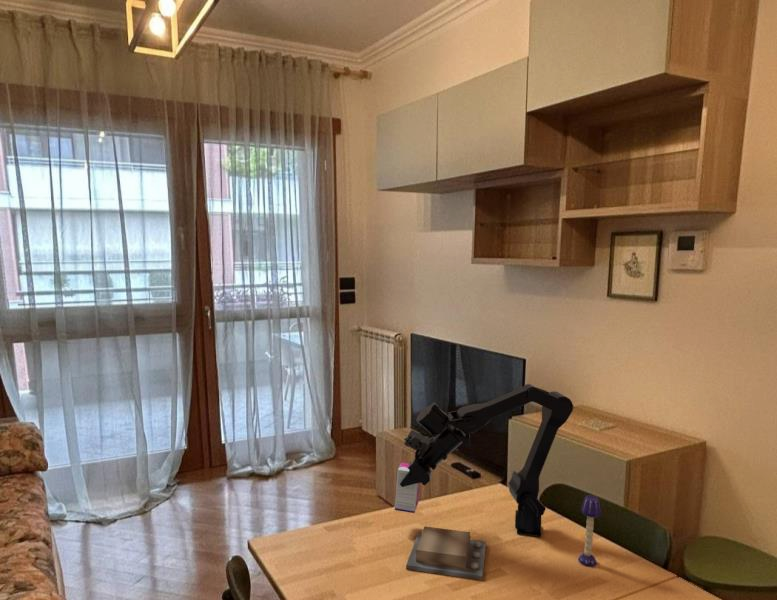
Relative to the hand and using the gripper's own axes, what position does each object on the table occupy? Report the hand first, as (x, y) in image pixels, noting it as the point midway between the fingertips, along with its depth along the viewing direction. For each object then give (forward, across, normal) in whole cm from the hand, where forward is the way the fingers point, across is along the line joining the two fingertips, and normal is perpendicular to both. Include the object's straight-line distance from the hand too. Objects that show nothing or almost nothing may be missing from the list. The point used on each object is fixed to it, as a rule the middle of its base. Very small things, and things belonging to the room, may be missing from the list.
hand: (403, 481), depth 148 cm
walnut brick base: (0, +12, +18) cm, 22 cm away
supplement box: (+5, 0, +6) cm, 8 cm away
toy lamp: (-24, +6, +44) cm, 50 cm away
